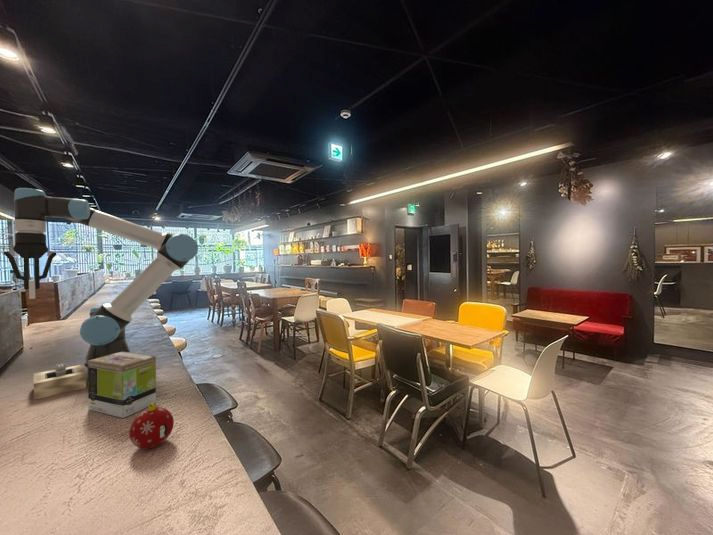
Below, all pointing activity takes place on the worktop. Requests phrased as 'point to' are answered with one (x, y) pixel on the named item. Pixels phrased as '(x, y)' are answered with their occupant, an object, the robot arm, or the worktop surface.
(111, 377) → the tea box
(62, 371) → the rook chess piece
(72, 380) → the socket block
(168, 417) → the christmas ornament
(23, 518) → the worktop surface
